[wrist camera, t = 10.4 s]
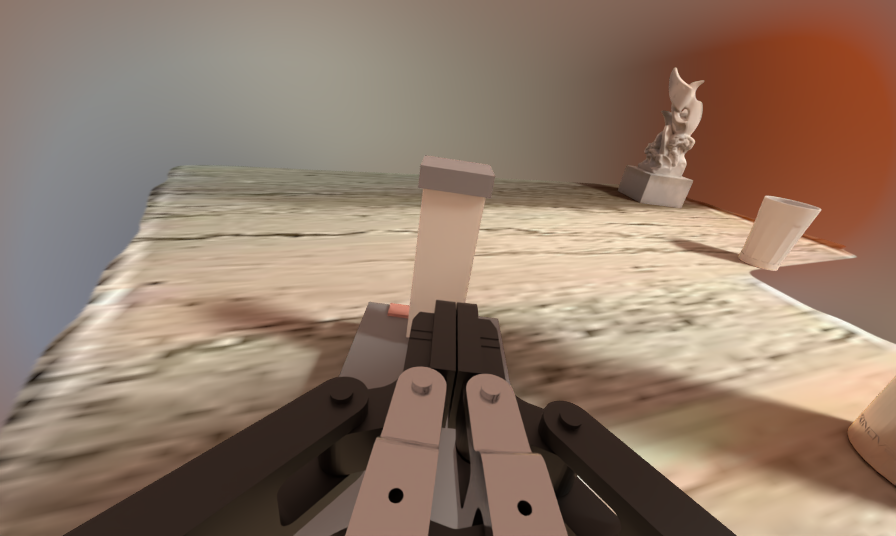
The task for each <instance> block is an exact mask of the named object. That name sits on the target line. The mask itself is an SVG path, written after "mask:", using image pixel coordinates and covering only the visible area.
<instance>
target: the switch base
mask: <svg viewBox="0 0 896 536" xmlns="http://www.w3.org/2000/svg"><path fill="white" fill-rule="evenodd" d="M409 308H410V306H408V305H401V304H393V303H391V304H390V305H389V304H381V303H374V302H369V303H368V306H367V308H366V311H365V313H364V316H363V318H362V321H361V323H360V326H359V328H358V330H357V333H356V335H355V338H354V340H353V343H352V345H351V348H350V350H349V353H348V355H347V358H346V360H345V363H344V365H343V368H342V370H341V373H340V375H339V377H353V378H356V379H358V380H360V381H362V382H363V383H364V384H365V385H366V387H367V388H368V389H372V388H378V387H383V386H386V385H389V384H391V383H393V382H394V381H396V380H397V379H398V378H399V376H400V375H401V374H402V372H403V369H404V363H405V358H406V352H407V347H408V341H409V337H406V334H407V325H408V317H409ZM478 318H480V319H488V320H491V322H492V323H493V324H494V326H495V327H496V328H497V331H498V337H499V343H500V350H501V355H502V361H503V367H504V373H505V379H506V382H508V383H509V384H510V380H509V375H508V370H507V364H506V359H505V353H504V348H503V343H502V337H501V332H500V327H499V321H498V319H495V318H488V317H480V316H478ZM455 440H456V429H451V428H448V416H447V422H446V427H445V428H442V430H441V436H440V442H439V454H438V462H437V470H436V477H435V485H434V493H433V500H432V508H431V516H430V520H432V521H434V522H437V523H439V524H442V525H444V526H447V527H450V528H453V529H457V526H458V514H457V500H456V487H455V473H454V460H453V449H454V445H455ZM365 471H366V470H365ZM365 471H364V472H363V474H362V475H361V476H360V477H359V478H358V479H357V480H356V481H355V482H354V483H353V484H352V485H351V486H350V487H348V488H347V489H346V490H345V491H344V492H343V493H342V494H340V495H339V496H338V497H337V498H336V499H335V500H334V501H332V502H331V503H330V504H329V505H328V506H327V507H326V508H324V509H323V510H322V511H321V512H320V513H319V514H318V515H316V516H315V517H314V518H313V519H312V520H311V521H309V522H308V523H307V524H306V525H305V526H304V527H303V528H301V529H300V530H299V531H298V532H297V533H296V534H295V535H293V536H330V535H332V534H334V533H336V532H338V531H340V530H342V529H344V528H347V527H348V525H349V522H350V519H351V516H352V513H353V509H354V506H355V503H356V500H357V497H358V493H359V490H360V487H361V484H362V481H363V477H364V474H365Z"/></svg>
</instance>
